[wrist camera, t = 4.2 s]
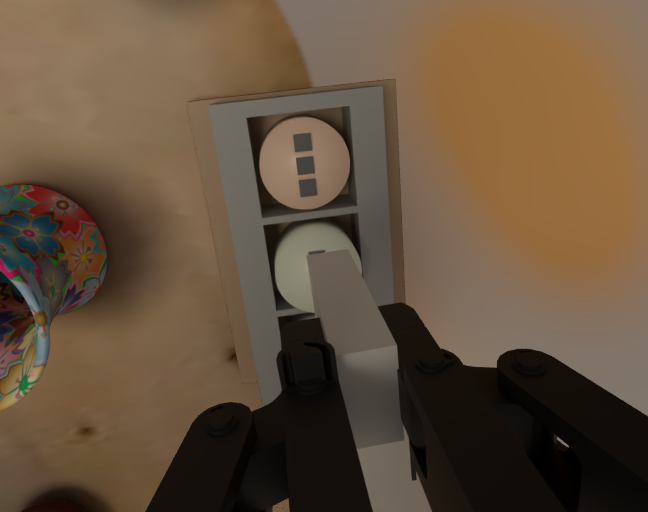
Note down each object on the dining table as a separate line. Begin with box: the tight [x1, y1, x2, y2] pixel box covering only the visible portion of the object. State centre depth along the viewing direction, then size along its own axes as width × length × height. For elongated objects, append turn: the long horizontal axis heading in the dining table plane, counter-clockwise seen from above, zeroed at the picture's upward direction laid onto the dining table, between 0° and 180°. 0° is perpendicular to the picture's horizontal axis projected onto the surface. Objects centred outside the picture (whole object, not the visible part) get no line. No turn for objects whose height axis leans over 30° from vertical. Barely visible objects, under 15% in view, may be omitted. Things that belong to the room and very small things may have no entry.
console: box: [186, 79, 406, 405], centre depth 29 cm, size 12×19×4 cm, turn 6°
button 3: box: [259, 114, 350, 210], centre depth 26 cm, size 5×5×3 cm
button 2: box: [274, 217, 362, 313], centre depth 27 cm, size 5×5×3 cm
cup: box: [357, 425, 432, 512], centre depth 29 cm, size 8×8×16 cm
